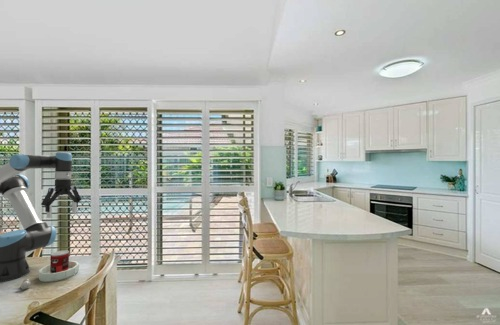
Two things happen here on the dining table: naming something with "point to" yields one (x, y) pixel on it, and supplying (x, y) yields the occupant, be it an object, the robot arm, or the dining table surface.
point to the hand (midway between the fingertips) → (62, 215)
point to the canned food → (59, 261)
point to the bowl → (49, 277)
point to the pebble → (25, 284)
